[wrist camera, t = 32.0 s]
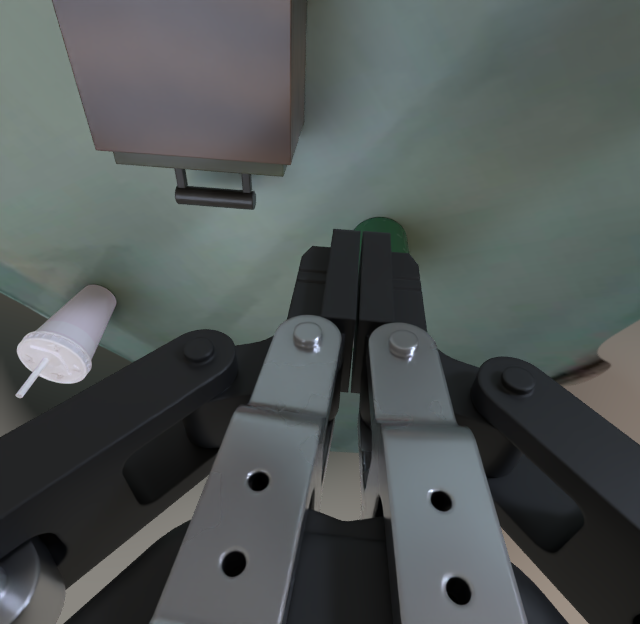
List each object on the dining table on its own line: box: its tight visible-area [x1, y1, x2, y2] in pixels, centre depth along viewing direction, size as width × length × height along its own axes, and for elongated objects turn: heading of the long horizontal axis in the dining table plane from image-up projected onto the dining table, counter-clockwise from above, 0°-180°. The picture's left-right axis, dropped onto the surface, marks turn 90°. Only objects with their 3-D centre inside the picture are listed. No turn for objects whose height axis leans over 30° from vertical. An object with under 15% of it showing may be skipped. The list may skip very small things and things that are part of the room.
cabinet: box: [52, 0, 307, 165], centre depth 25 cm, size 16×13×9 cm
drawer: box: [113, 152, 287, 210], centre depth 28 cm, size 19×11×7 cm, turn 177°
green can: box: [353, 217, 409, 345], centre depth 35 cm, size 5×5×13 cm
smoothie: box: [16, 285, 116, 398], centre depth 42 cm, size 6×6×14 cm
